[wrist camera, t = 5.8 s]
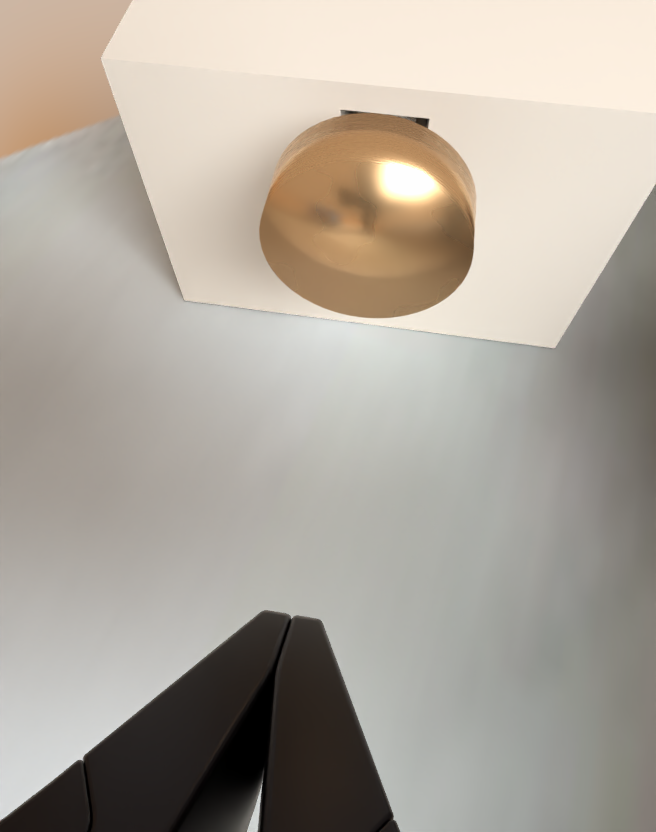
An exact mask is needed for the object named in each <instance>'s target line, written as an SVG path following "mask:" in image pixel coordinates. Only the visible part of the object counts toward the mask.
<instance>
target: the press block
mask: <svg viewBox="0 0 656 832" xmlns="http://www.w3.org/2000/svg"><path fill="white" fill-rule="evenodd" d="M101 61H102V64H103V67H104V70H105V73H106V76H107V79H108V81H109V84H110V87H111V90H112V93H113V96H114V99H115V102H116V105H117V108H118V110H119V113H120V116H121V119H122V122H123V125H124V128H125V131H126V134H127V136H128V139H129V142H130V145H131V148H132V151H133V154H134V157H135V160H136V162H137V165H138V168H139V171H140V174H141V177H142V180H143V183H144V186H145V188H146V191H147V194H148V197H149V200H150V203H151V206H152V209H153V211H154V214H155V217H156V220H157V223H158V226H159V229H160V232H161V235H162V237H163V240H164V243H165V246H166V249H167V252H168V255H169V258H170V261H171V263H172V266H173V269H174V272H175V275H176V278H177V281H178V284H179V287H180V289H181V292H182V295H183V298H184V301H191V302H199V303H207V304H215V305H222V306H230V307H238V308H246V309H253V310H261V311H269V312H277V313H284V314H292V315H300V316H308V317H316V318H323V319H331V320H339V321H347V322H354V323H362V324H370V325H378V326H385V327H393V328H401V329H409V330H416V331H424V332H432V333H440V334H447V335H455V336H463V337H471V338H478V339H486V340H494V341H502V342H509V343H517V344H525V345H533V346H540V347H548V348H555V347H556V345H557V344H558V342H559V341H560V339H561V337H562V336H563V334H564V332H565V331H566V329H567V328H568V326H569V324H570V323H571V321H572V319H573V318H574V316H575V314H576V313H577V311H578V310H579V308H580V306H581V305H582V303H583V301H584V300H585V298H586V297H587V295H588V293H589V292H590V290H591V288H592V287H593V285H594V283H595V282H596V280H597V279H598V277H599V275H600V274H601V272H602V270H603V269H604V267H605V266H606V264H607V262H608V261H609V259H610V257H611V256H612V254H613V253H614V251H615V249H616V248H617V246H618V244H619V243H620V241H621V239H622V238H623V236H624V235H625V233H626V231H627V230H628V228H629V226H630V225H631V223H632V222H633V220H634V218H635V217H636V215H637V213H638V212H639V210H640V208H641V207H642V205H643V204H644V202H645V200H646V199H647V197H648V195H649V194H650V192H651V191H652V189H653V187H654V186H655V184H656V0H132V2H131V4H130V6H129V7H128V9H127V11H126V13H125V15H124V16H123V18H122V20H121V22H120V24H119V26H118V27H117V29H116V31H115V33H114V35H113V36H112V38H111V40H110V42H109V44H108V45H107V47H106V49H105V51H104V53H103V55H102V56H101ZM358 111H360V112H370V113H379V114H389V115H399V116H409V117H417V121H416V123H417V124H420V125H422V126H424V127H426V128H428V129H429V130H431V131H433V132H435V133H436V134H438V135H439V136H440V137H442V138H443V139H444V140H445V141H447V142H448V143H449V144H450V145H451V146H452V147H453V148H454V149H455V150H456V151H457V152H458V153H459V155H460V156H461V157H462V159H463V160H464V162H465V163H466V165H467V167H468V169H469V171H470V173H471V175H472V178H473V181H474V184H475V190H476V219H475V236H474V253H473V259H472V264H471V267H470V269H469V272H468V274H467V276H466V277H465V279H464V281H463V282H462V284H461V285H460V286H459V287H458V288H457V289H456V290H455V291H454V292H453V293H452V294H451V295H450V296H449V297H447V298H446V299H444V300H443V301H441V302H440V303H438V304H436V305H434V306H432V307H430V308H428V309H426V310H423V311H420V312H418V313H414V314H410V315H406V316H400V317H393V318H363V317H355V316H349V315H345V314H341V313H337V312H333V311H331V310H328V309H325V308H322V307H320V306H318V305H315V304H313V303H311V302H310V301H308V300H306V299H304V298H302V297H301V296H299V295H298V294H296V293H295V292H294V291H292V290H291V289H290V288H289V287H288V286H286V285H285V284H284V283H283V282H282V281H281V280H280V279H279V278H278V277H277V275H276V274H275V273H274V271H273V270H272V269H271V267H270V266H269V264H268V262H267V260H266V258H265V256H264V254H263V251H262V248H261V243H260V236H259V227H260V220H261V216H262V213H263V209H264V206H265V202H266V199H267V195H268V192H269V188H270V185H271V181H272V178H273V174H274V171H275V168H276V165H277V163H278V161H279V159H280V157H281V155H282V153H283V152H284V150H285V149H286V148H287V146H288V145H289V144H290V143H291V142H292V141H293V140H294V139H295V138H296V137H297V136H298V135H300V134H301V133H302V132H304V131H305V130H307V129H308V128H310V127H312V126H314V125H316V124H318V123H320V122H322V121H325V120H328V119H331V118H333V117H338V116H342V115H347V114H357V113H358Z"/></svg>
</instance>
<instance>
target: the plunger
mask: <svg viewBox="0 0 656 832" xmlns="http://www.w3.org/2000/svg"><path fill="white" fill-rule="evenodd" d="M416 121H417V117H409V116H399V115H389V114H379V113H370V112H360V111H358V113H357V114H347V115H342V116H338V117H333V118H331V119H328V120H325V121H322V122H320V123H318V124H316V125H314V126H312V127H310V128H308V129H307V130H305V131H304V132H302V133H301V134H300V135H298V136H297V137H296V138H295V139H294V140H293V141H292V142H291V143H290V144H289V145H288V146H287V148H286V149H285V150H284V152H283V153H282V155H281V157H280V159H279V161H278V163H277V165H276V168H275V171H274V174H273V178H272V181H271V185H270V188H269V192H268V195H267V199H266V202H265V206H264V209H263V213H262V216H261V220H260V227H259V236H260V243H261V248H262V251H263V254H264V256H265V258H266V260H267V262H268V264H269V266H270V267H271V269H272V270H273V271H274V273H275V274H276V275H277V277H278V278H279V279H280V280H281V281H282V282H283V283H284V284H285V285H286V286H288V287H289V288H290V289H291V290H292V291H294V292H295V293H296V294H298V295H299V296H301V297H302V298H304V299H306V300H308V301H310V302H311V303H313V304H315V305H318V306H320V307H322V308H325V309H328V310H331V311H333V312H337V313H341V314H345V315H349V316H355V317H363V318H393V317H400V316H406V315H410V314H414V313H418V312H420V311H423V310H426V309H428V308H430V307H432V306H434V305H436V304H438V303H440V302H441V301H443V300H444V299H446V298H447V297H449V296H450V295H451V294H452V293H453V292H454V291H455V290H456V289H457V288H458V287H459V286H460V285H461V284H462V282H463V281H464V279H465V277H466V276H467V274H468V272H469V269H470V267H471V264H472V259H473V253H474V236H475V219H476V190H475V184H474V181H473V178H472V175H471V173H470V171H469V169H468V167H467V165H466V163H465V162H464V160H463V159H462V157H461V156H460V155H459V153H458V152H457V151H456V150H455V149H454V148H453V147H452V146H451V145H450V144H449V143H448V142H447V141H445V140H444V139H443V138H442V137H440V136H439V135H438V134H436V133H435V132H433V131H431V130H429V129H428V128H426V127H424V126H422V125H420V124H417V123H416Z"/></svg>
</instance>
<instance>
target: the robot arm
mask: <svg viewBox="0 0 656 832" xmlns="http://www.w3.org/2000/svg"><path fill="white" fill-rule="evenodd" d="M262 781H263V783H262ZM261 785H262V793H261V802H260V813H259V823H258V832H400V830H399V828H398V825H397V823H396V821H395V820H393V817H394V816H393V812H392V810H391V807H390V804H389V801H388V799H387V796H386V793H385V791H384V788H383V785H382V782H381V780H380V777H379V774H378V772H377V769H376V766H375V764H374V761H373V758H372V755H371V753H370V750H369V747H368V745H367V742H366V739H365V736H364V734H363V731H362V728H361V726H360V723H359V720H358V718H357V715H356V712H355V709H354V707H353V704H352V701H351V699H350V696H349V693H348V690H347V688H346V685H345V682H344V680H343V677H342V674H341V672H340V669H339V666H338V663H337V661H336V658H335V655H334V653H333V650H332V647H331V644H330V642H329V639H328V636H327V634H326V631H325V628H324V626H323V623H322V621H321V620H319V619H316V618H310V617H304V616H294V617H293V618H292V619H291V616H290V615H289V614H286V613H280V612H274V611H268V610H264V611H262V612H260V613H259V614H258V615H257V616H255V617H254V618H253V619H252V620H250V621H249V622H248V623H247V624H245V625H244V626H243V627H242V628H240V629H239V630H238V631H237V632H236V633H234V634H233V635H232V636H231V637H229V638H228V639H227V640H226V641H224V642H223V643H222V644H221V645H220V646H218V647H217V648H216V649H215V650H213V651H212V652H211V653H210V654H208V655H207V656H206V657H205V658H204V659H202V660H201V661H200V662H199V663H197V664H196V665H195V666H194V667H192V668H191V669H190V670H189V671H188V672H186V673H185V674H184V675H183V676H181V677H180V678H179V679H178V680H176V681H175V682H174V683H173V684H172V685H170V686H169V687H168V688H167V689H165V690H164V691H163V692H162V693H160V694H159V695H158V696H157V697H155V698H154V699H153V700H152V701H151V702H149V703H148V704H147V705H146V706H144V707H143V708H142V709H141V710H139V711H138V712H137V713H136V714H135V715H133V716H132V717H131V718H130V719H128V720H127V721H126V722H125V723H123V724H122V725H121V726H120V727H119V728H117V729H116V730H115V731H114V732H112V733H111V734H110V735H109V736H107V737H106V738H105V739H104V740H103V741H101V742H100V743H99V744H98V745H96V746H95V747H94V748H93V749H91V750H90V751H89V752H88V753H87V754H85V755H84V757H83V761H82V760H78V761H76V762H75V763H74V764H73V765H71V766H70V767H69V768H68V769H66V770H65V771H64V772H63V773H61V774H60V775H59V776H58V777H57V778H55V779H54V780H53V781H52V782H50V783H49V784H48V785H46V786H45V787H44V788H43V789H41V790H40V791H39V792H37V793H36V794H35V795H33V796H32V797H31V798H30V799H28V800H27V801H26V802H24V803H23V804H22V805H21V806H19V807H18V808H17V809H15V810H14V811H13V812H11V813H10V814H9V815H8V816H6V817H5V818H3V819H2V820H1V821H0V832H247V829H248V826H249V823H250V820H251V817H252V814H253V811H254V808H255V805H256V802H257V798H258V795H259V792H260V789H261Z"/></svg>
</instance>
